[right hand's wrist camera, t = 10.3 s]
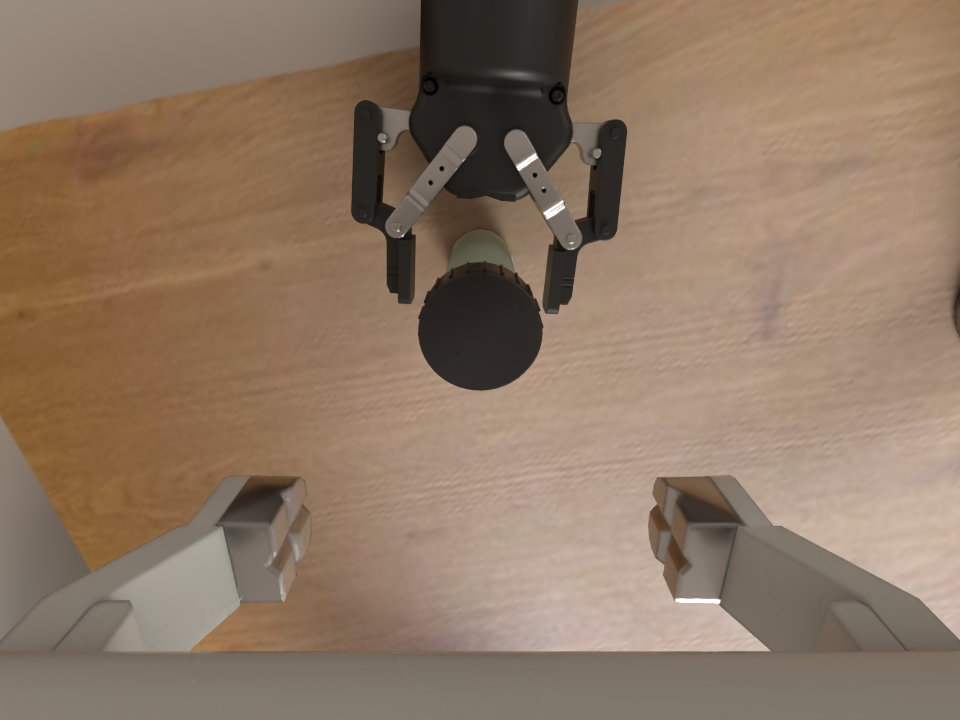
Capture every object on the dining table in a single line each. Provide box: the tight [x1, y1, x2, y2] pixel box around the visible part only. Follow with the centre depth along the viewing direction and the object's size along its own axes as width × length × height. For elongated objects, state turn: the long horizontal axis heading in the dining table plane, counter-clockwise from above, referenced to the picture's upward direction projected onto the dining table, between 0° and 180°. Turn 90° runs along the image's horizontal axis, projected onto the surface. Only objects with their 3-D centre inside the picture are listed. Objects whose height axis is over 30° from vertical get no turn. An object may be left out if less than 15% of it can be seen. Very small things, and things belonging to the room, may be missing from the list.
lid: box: [418, 261, 543, 391], centre depth 22 cm, size 5×5×2 cm
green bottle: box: [445, 229, 515, 274], centre depth 28 cm, size 4×4×15 cm
